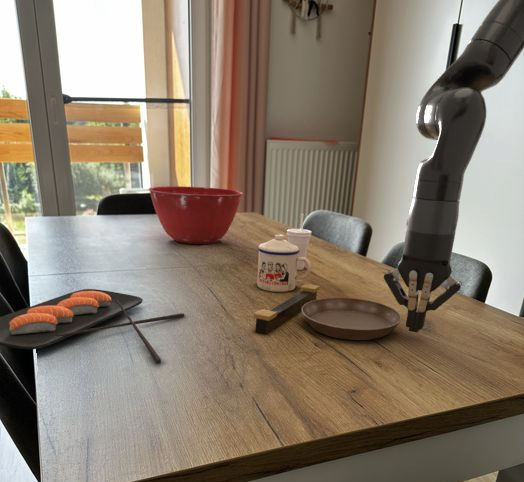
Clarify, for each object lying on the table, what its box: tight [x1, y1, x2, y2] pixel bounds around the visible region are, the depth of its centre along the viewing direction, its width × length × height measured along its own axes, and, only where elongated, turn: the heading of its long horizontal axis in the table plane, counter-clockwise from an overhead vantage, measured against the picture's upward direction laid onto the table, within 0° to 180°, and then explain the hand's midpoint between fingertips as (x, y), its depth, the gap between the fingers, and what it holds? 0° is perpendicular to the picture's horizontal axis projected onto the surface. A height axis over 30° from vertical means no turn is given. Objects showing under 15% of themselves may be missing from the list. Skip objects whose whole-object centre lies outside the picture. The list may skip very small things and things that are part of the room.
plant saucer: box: [301, 297, 402, 341], centre depth 92 cm, size 18×18×3 cm
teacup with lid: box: [256, 234, 312, 293], centre depth 113 cm, size 12×9×12 cm
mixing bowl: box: [147, 185, 243, 245], centre depth 160 cm, size 28×28×16 cm
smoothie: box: [286, 212, 312, 271], centre depth 132 cm, size 6×6×14 cm
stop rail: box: [253, 283, 321, 335], centre depth 97 cm, size 3×24×3 cm, turn 154°
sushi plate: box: [0, 288, 185, 364], centre depth 84 cm, size 29×30×4 cm
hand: (413, 330), depth 88 cm, fingers closed
